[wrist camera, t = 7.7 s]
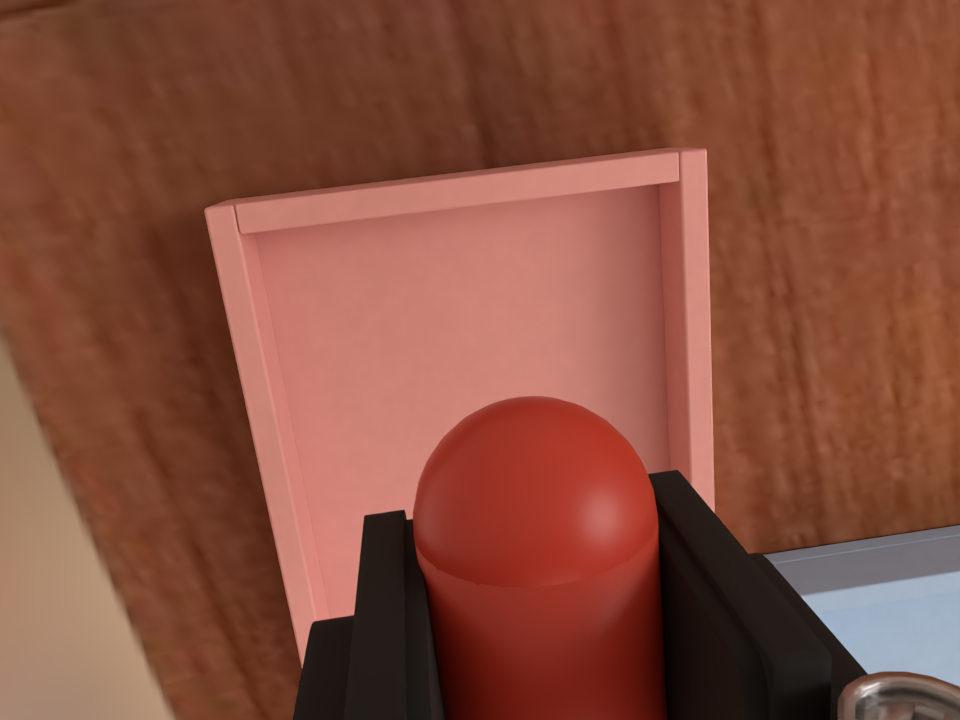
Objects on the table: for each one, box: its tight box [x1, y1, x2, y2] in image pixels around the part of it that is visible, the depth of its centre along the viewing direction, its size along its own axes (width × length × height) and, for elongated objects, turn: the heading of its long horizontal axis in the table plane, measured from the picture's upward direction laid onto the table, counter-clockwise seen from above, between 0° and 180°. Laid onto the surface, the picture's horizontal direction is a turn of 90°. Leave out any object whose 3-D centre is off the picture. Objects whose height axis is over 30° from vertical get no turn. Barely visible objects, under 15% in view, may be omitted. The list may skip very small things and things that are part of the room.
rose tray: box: [204, 147, 715, 668], centre depth 18 cm, size 10×16×2 cm, turn 6°
